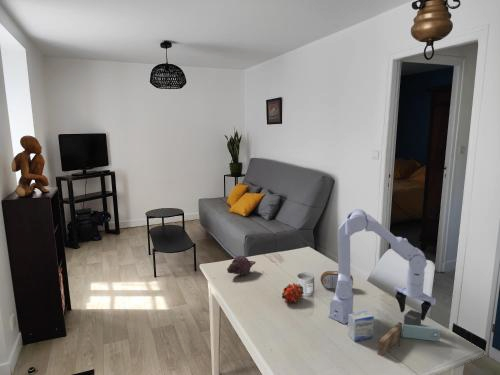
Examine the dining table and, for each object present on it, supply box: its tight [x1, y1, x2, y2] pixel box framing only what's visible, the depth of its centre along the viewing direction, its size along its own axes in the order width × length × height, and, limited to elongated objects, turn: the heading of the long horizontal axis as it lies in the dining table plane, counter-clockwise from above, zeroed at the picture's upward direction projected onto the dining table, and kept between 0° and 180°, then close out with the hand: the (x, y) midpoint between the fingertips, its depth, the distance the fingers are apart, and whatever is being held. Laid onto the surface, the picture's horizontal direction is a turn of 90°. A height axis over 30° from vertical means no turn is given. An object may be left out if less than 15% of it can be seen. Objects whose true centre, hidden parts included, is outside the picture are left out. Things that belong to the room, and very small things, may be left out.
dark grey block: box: [403, 309, 422, 326], centre depth 132 cm, size 6×4×5 cm, turn 133°
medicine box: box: [347, 310, 375, 342], centre depth 126 cm, size 8×4×9 cm, turn 105°
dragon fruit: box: [281, 282, 305, 304], centre depth 152 cm, size 8×8×12 cm
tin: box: [320, 270, 354, 290], centre depth 163 cm, size 15×3×8 cm, turn 84°
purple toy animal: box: [226, 255, 256, 276], centre depth 179 cm, size 18×10×10 cm, turn 129°
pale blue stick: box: [402, 323, 441, 342], centre depth 123 cm, size 12×2×4 cm, turn 76°
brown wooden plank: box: [377, 321, 403, 357], centre depth 121 cm, size 16×2×5 cm, turn 133°
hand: (412, 315), depth 131 cm, fingers open, 7 cm apart
